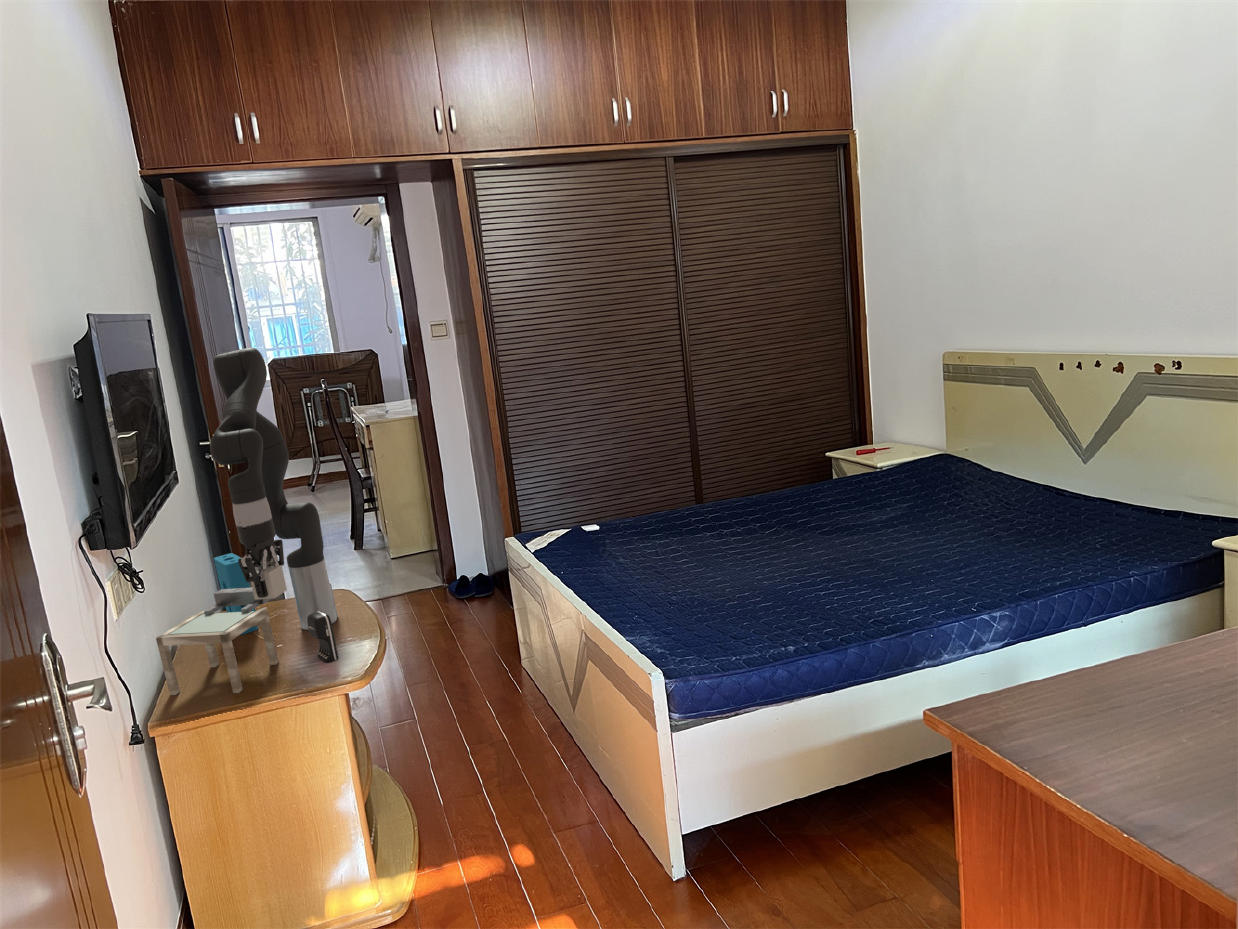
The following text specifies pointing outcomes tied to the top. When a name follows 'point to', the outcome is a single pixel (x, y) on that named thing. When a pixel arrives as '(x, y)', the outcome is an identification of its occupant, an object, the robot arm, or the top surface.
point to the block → (232, 579)
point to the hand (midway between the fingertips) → (270, 591)
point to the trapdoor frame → (210, 640)
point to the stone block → (272, 582)
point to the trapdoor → (223, 621)
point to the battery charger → (323, 635)
